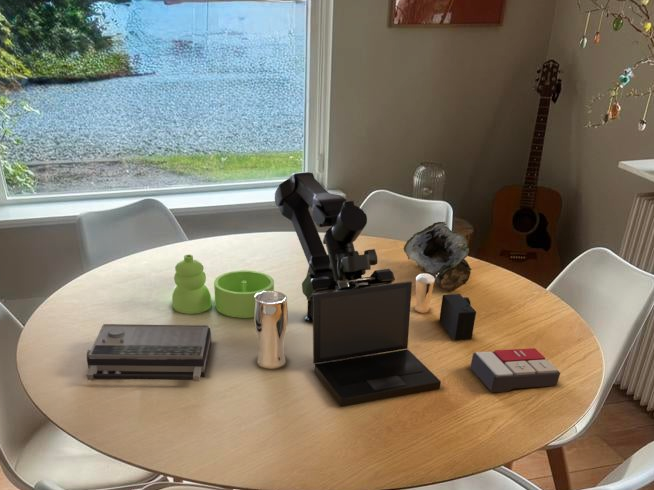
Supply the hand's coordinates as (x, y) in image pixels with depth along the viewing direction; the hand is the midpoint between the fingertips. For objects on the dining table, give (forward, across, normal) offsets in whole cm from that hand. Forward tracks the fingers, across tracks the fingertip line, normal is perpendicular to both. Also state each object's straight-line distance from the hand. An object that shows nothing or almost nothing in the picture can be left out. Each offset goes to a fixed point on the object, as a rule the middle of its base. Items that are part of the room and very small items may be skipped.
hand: (359, 322), depth 154 cm
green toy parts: (-19, -20, +32) cm, 42 cm away
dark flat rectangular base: (+13, 0, -1) cm, 13 cm away
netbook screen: (+1, 0, -2) cm, 2 cm away
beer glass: (+3, -18, +9) cm, 21 cm away
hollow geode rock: (-18, +39, +31) cm, 53 cm away
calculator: (+19, +28, -6) cm, 35 cm away
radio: (-2, -43, +15) cm, 46 cm away
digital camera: (+2, +28, +10) cm, 30 cm away
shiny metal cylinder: (-7, +26, +19) cm, 33 cm away
